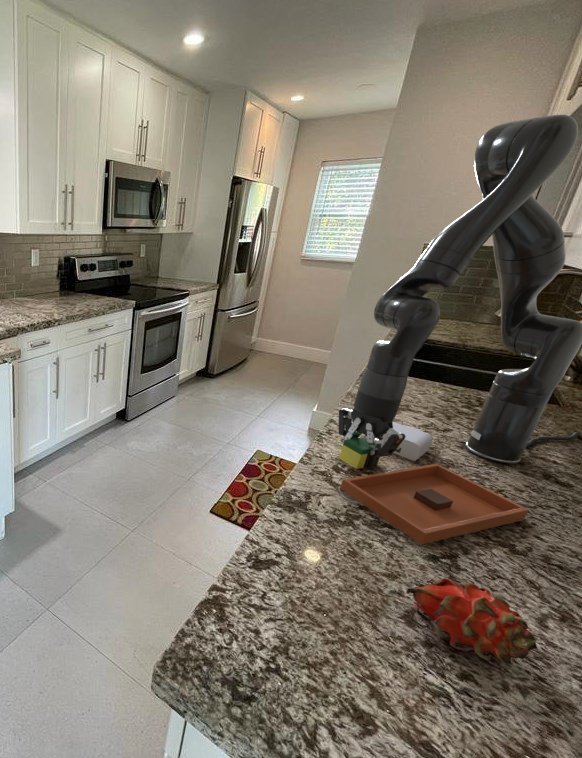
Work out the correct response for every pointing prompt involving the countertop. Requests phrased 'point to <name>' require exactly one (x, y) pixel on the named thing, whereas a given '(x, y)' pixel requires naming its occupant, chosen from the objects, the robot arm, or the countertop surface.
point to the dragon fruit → (474, 619)
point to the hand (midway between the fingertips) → (357, 461)
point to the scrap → (433, 499)
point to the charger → (411, 442)
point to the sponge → (355, 452)
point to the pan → (422, 523)
